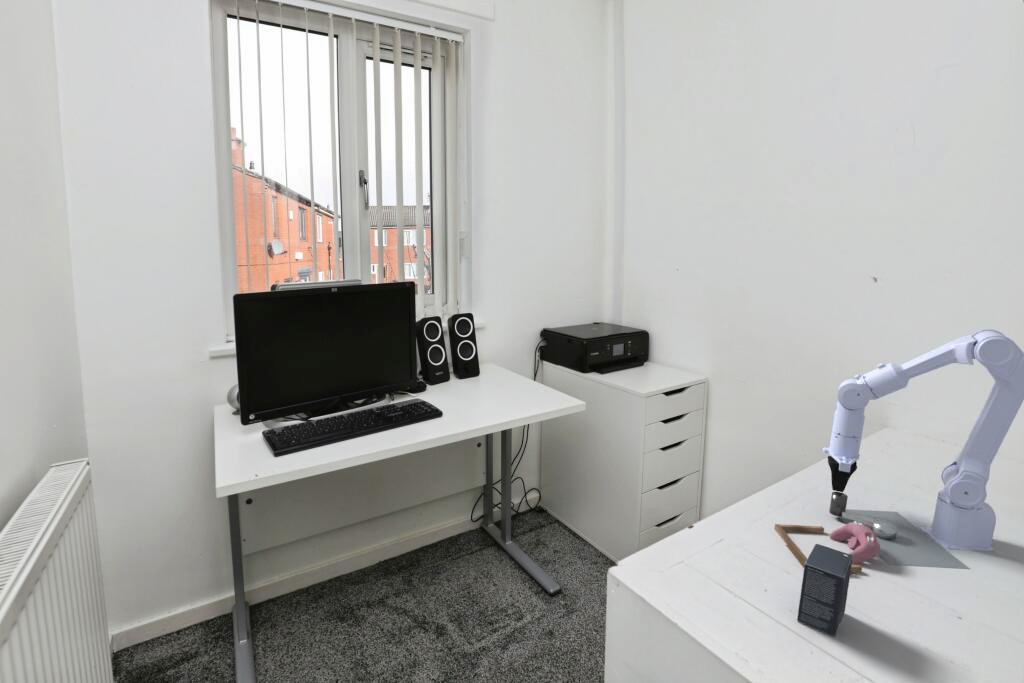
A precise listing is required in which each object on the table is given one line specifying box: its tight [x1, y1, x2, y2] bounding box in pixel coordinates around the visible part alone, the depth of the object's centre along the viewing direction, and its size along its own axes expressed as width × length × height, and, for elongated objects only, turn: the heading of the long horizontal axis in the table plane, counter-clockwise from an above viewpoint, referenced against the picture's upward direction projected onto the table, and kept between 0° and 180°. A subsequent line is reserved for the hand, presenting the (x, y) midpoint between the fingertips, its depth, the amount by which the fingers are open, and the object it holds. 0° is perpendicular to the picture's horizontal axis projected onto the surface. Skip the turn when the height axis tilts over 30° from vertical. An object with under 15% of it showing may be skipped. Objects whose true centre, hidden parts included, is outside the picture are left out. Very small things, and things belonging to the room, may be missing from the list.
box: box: [796, 543, 853, 637], centre depth 90 cm, size 8×6×11 cm
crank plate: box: [828, 507, 971, 570], centre depth 116 cm, size 15×22×1 cm
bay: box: [774, 523, 863, 576], centre depth 110 cm, size 10×15×2 cm
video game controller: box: [829, 521, 880, 565], centre depth 109 cm, size 10×5×7 cm, turn 169°
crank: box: [828, 491, 898, 540], centre depth 118 cm, size 13×4×5 cm, turn 42°
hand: (837, 490), depth 126 cm, fingers closed
